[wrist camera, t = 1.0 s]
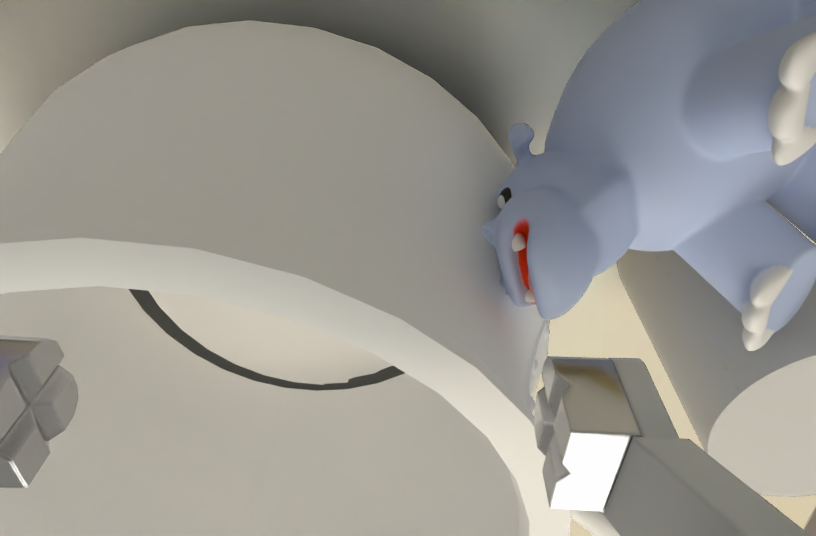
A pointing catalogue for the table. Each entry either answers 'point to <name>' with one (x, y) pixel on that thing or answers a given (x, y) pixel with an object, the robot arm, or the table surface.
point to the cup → (732, 373)
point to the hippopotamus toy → (675, 160)
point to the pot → (271, 298)
